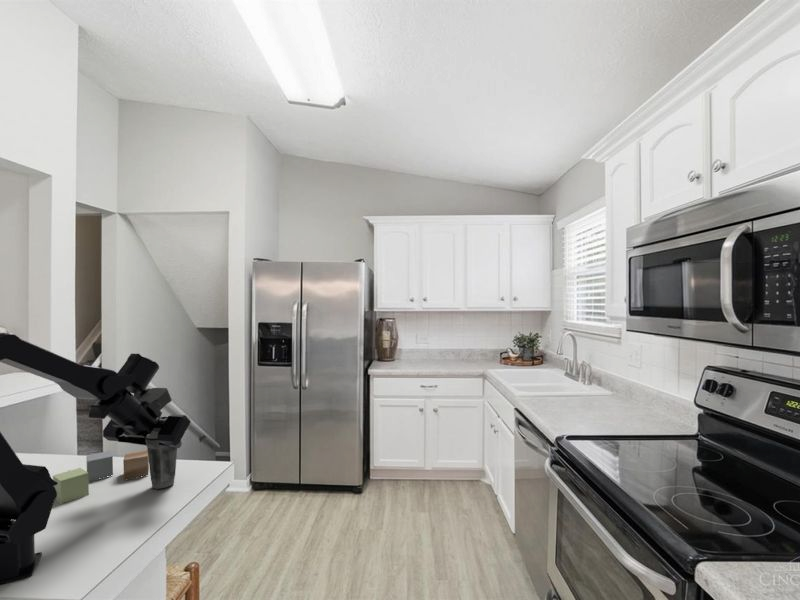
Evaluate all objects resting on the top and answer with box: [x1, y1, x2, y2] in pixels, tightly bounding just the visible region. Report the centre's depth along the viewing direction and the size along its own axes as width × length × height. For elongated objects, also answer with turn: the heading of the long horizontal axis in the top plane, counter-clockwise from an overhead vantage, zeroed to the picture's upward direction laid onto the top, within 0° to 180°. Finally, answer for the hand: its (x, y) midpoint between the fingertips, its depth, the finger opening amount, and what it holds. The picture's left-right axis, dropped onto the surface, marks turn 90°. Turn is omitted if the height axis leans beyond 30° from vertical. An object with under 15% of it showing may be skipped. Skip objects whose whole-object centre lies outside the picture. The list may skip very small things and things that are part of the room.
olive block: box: [52, 467, 90, 504], centre depth 92 cm, size 5×5×5 cm
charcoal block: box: [86, 450, 114, 482], centre depth 103 cm, size 5×5×5 cm
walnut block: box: [122, 449, 150, 481], centre depth 103 cm, size 5×5×5 cm
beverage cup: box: [144, 409, 178, 489], centre depth 96 cm, size 7×7×20 cm
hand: (167, 445), depth 98 cm, fingers closed on beverage cup, 7 cm apart
